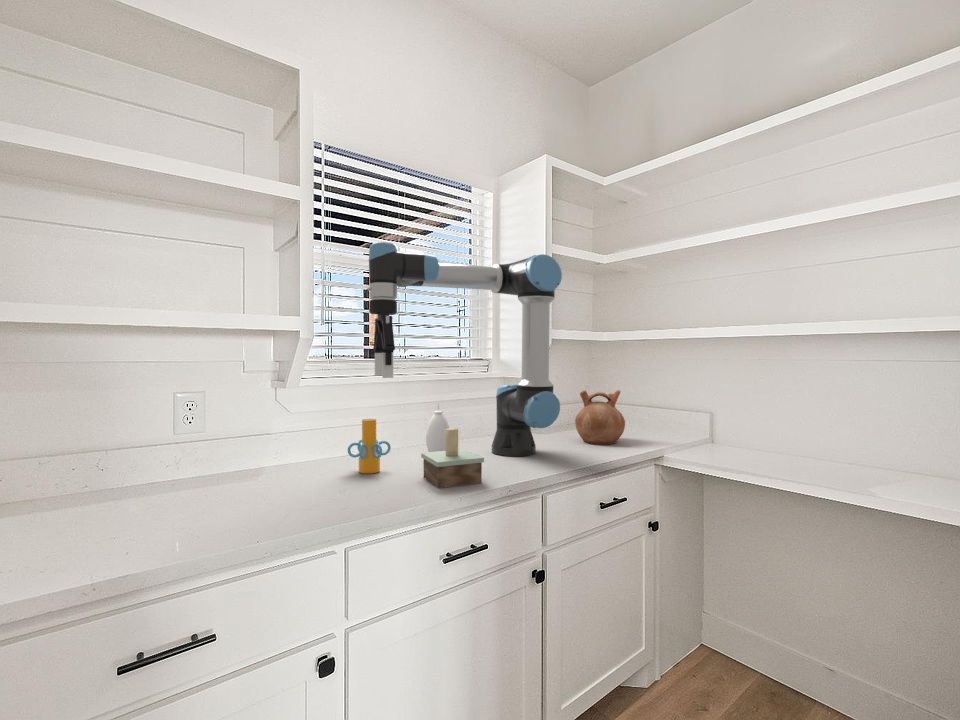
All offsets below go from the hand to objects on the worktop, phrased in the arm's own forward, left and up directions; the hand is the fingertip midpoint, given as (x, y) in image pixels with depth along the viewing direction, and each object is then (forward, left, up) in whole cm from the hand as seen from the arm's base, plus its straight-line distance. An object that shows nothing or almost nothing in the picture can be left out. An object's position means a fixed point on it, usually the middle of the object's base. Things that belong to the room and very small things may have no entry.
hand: (383, 376), depth 139 cm
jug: (-87, -17, -28) cm, 93 cm away
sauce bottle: (-21, -15, -28) cm, 38 cm away
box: (-15, +12, -28) cm, 34 cm away
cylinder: (+3, -7, -28) cm, 29 cm away
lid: (-15, +12, -22) cm, 30 cm away
